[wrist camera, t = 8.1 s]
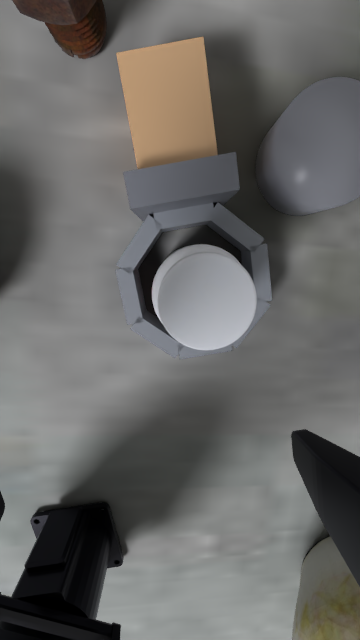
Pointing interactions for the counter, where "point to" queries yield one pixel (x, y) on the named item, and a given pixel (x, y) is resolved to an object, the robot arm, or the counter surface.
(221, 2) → the counter surface
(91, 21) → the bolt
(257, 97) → the counter surface
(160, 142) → the octagonal ring stamp
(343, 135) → the grey rounded lump
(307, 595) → the sugar bowl
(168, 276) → the pill bottle
